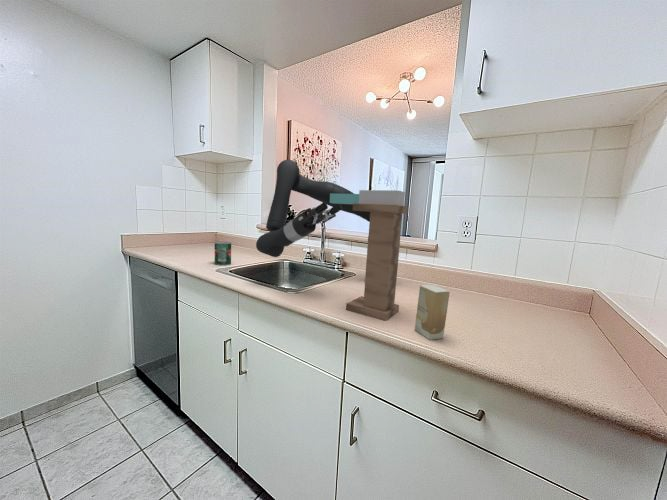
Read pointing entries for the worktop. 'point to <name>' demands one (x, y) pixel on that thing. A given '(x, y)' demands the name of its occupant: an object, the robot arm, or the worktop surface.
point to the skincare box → (431, 311)
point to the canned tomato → (222, 253)
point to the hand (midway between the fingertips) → (333, 205)
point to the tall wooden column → (380, 261)
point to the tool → (370, 197)
